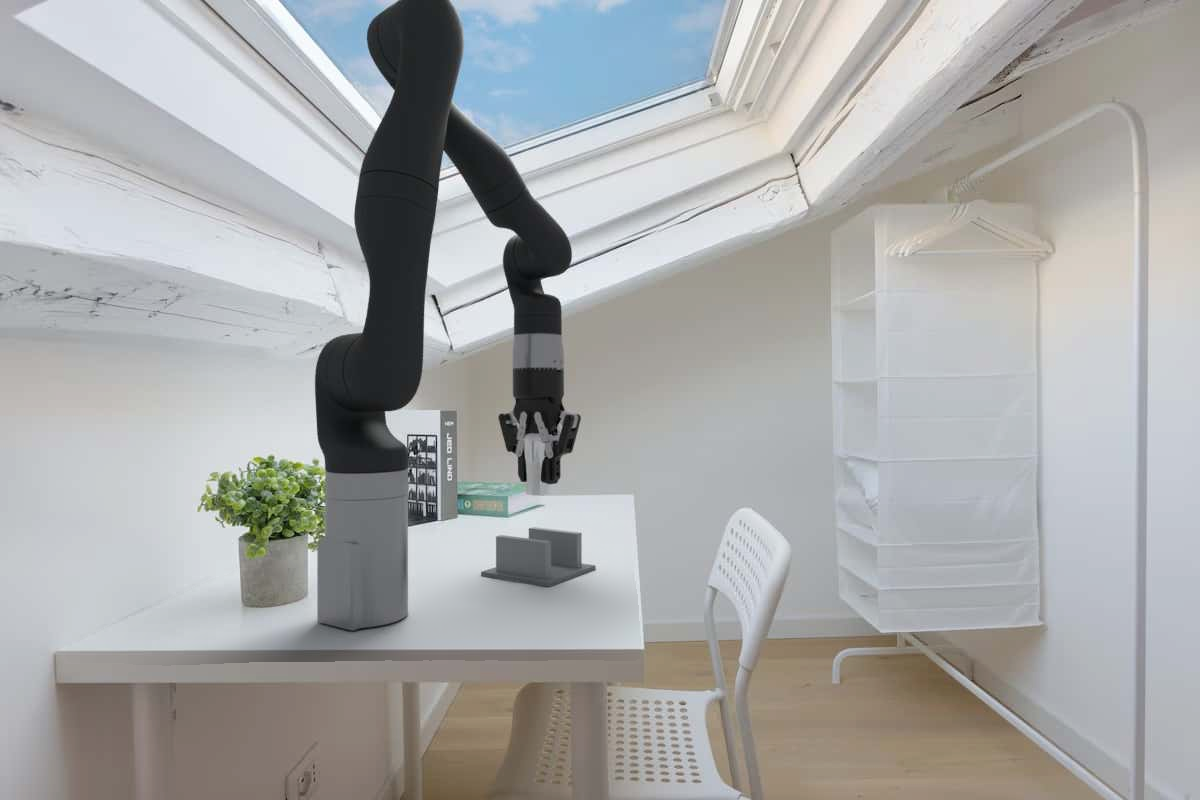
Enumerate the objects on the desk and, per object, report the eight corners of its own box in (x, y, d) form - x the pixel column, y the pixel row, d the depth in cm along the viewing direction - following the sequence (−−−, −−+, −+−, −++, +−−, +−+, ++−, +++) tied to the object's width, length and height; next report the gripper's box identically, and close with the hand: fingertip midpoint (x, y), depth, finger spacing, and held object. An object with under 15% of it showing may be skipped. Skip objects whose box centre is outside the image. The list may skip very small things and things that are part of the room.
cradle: (548, 587, 96) (548, 545, 96) (481, 575, 103) (481, 537, 103) (595, 569, 107) (595, 532, 107) (531, 560, 113) (531, 524, 113)
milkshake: (556, 496, 102) (558, 427, 102) (519, 495, 102) (521, 426, 102) (559, 492, 107) (561, 426, 107) (523, 491, 107) (525, 424, 107)
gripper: (484, 367, 105) (485, 482, 105) (563, 364, 98) (564, 488, 98) (516, 368, 112) (517, 477, 112) (592, 365, 104) (593, 482, 104)
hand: (539, 482), depth 105 cm, fingers closed on milkshake, 4 cm apart
